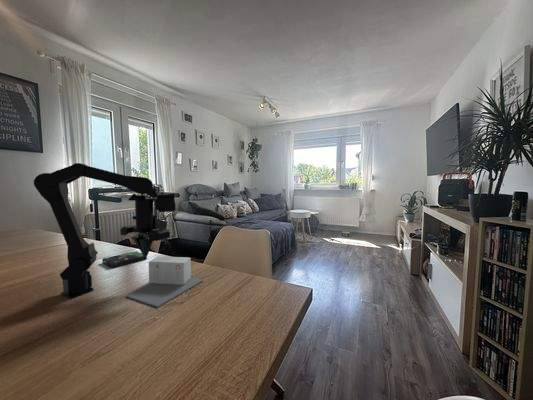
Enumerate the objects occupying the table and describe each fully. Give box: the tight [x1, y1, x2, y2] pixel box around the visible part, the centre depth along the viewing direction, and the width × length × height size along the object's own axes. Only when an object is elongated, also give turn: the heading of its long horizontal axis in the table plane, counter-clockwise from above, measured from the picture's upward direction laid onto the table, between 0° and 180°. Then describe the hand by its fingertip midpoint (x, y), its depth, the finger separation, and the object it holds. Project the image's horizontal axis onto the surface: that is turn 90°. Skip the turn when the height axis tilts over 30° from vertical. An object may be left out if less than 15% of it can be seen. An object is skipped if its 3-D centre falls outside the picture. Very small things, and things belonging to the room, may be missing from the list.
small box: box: [148, 255, 192, 285], centre depth 85 cm, size 8×6×13 cm
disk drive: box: [101, 251, 148, 269], centre depth 105 cm, size 10×3×15 cm
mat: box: [125, 277, 204, 309], centre depth 80 cm, size 20×14×1 cm
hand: (145, 255), depth 84 cm, fingers closed
